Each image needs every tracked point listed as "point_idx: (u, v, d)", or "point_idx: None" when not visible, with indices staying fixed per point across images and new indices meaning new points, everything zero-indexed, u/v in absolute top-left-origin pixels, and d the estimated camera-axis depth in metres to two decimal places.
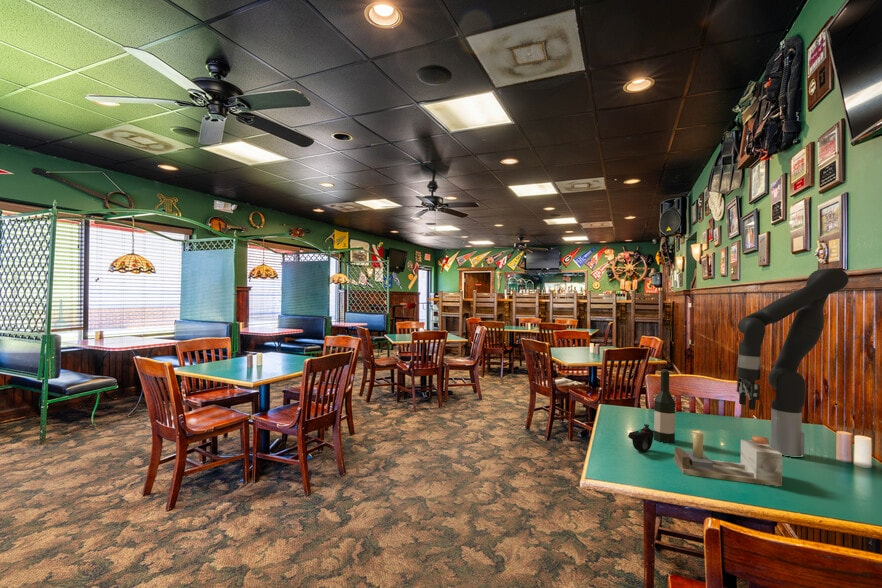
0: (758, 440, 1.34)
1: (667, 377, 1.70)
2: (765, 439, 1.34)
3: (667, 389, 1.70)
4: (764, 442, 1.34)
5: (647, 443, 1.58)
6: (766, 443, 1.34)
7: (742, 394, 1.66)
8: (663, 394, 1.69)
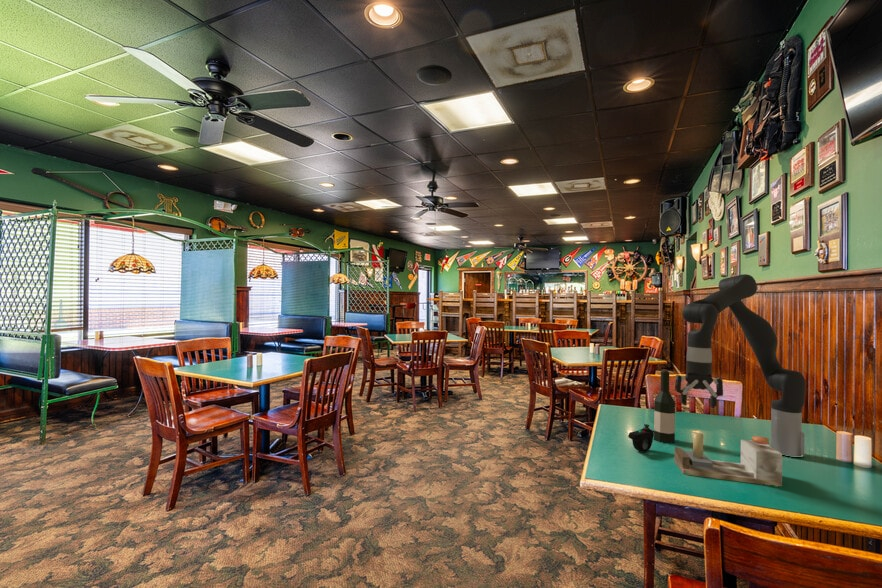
0: (758, 440, 1.34)
1: (667, 377, 1.70)
2: (765, 439, 1.34)
3: (667, 389, 1.70)
4: (764, 442, 1.34)
5: (647, 443, 1.58)
6: (766, 443, 1.34)
7: None
8: (663, 394, 1.69)
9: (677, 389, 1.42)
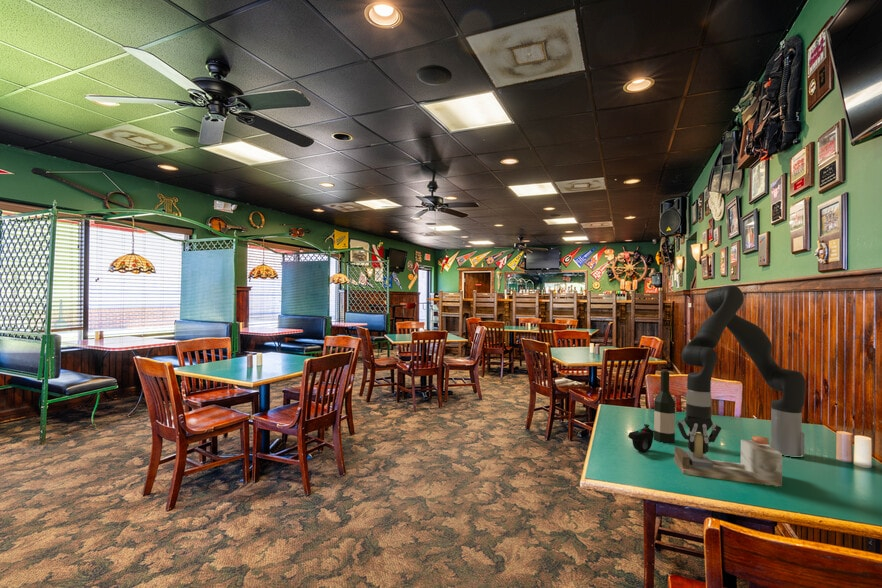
0: (758, 440, 1.34)
1: (667, 377, 1.70)
2: (765, 439, 1.34)
3: (667, 389, 1.70)
4: (764, 442, 1.34)
5: (647, 443, 1.58)
6: (766, 443, 1.34)
7: None
8: (663, 394, 1.69)
9: (684, 436, 1.41)
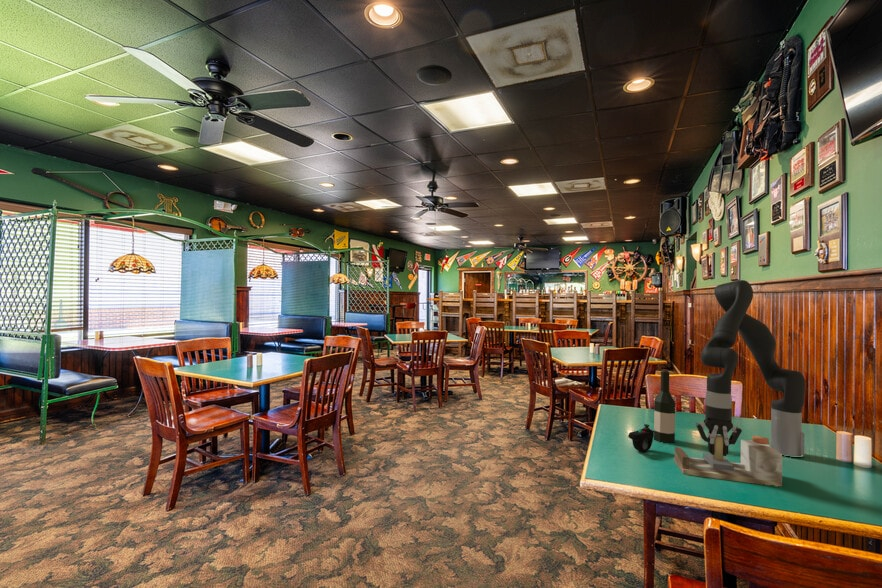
0: (758, 440, 1.34)
1: (667, 377, 1.70)
2: (765, 439, 1.34)
3: (667, 389, 1.70)
4: (764, 442, 1.34)
5: (647, 443, 1.58)
6: (766, 443, 1.34)
7: None
8: (663, 394, 1.69)
9: (704, 438, 1.40)
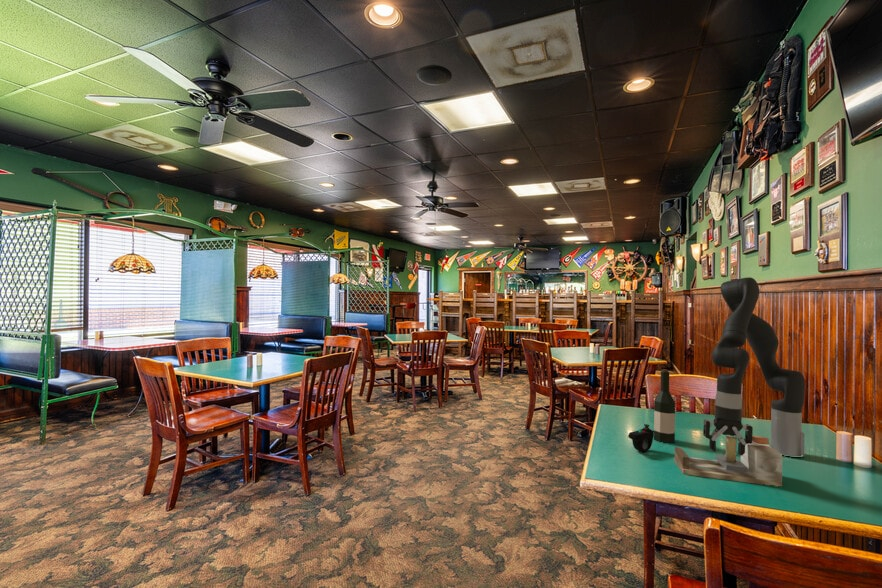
0: (758, 440, 1.34)
1: (667, 377, 1.70)
2: (765, 439, 1.34)
3: (667, 389, 1.70)
4: (764, 442, 1.34)
5: (647, 443, 1.58)
6: (766, 443, 1.34)
7: None
8: (663, 394, 1.69)
9: (706, 435, 1.39)
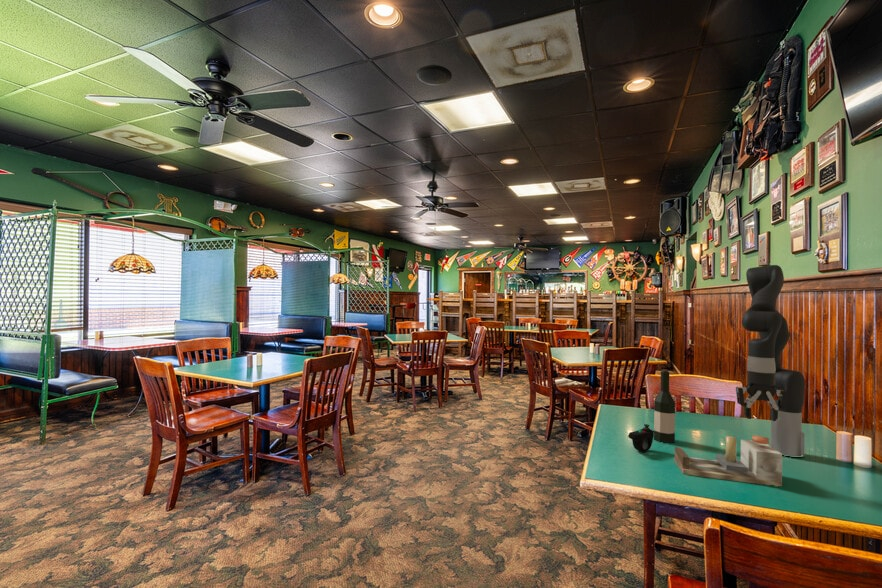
0: (758, 440, 1.34)
1: (667, 377, 1.70)
2: (765, 439, 1.34)
3: (667, 389, 1.69)
4: (764, 442, 1.34)
5: (647, 443, 1.58)
6: (766, 443, 1.34)
7: None
8: (663, 394, 1.69)
9: (741, 402, 1.37)
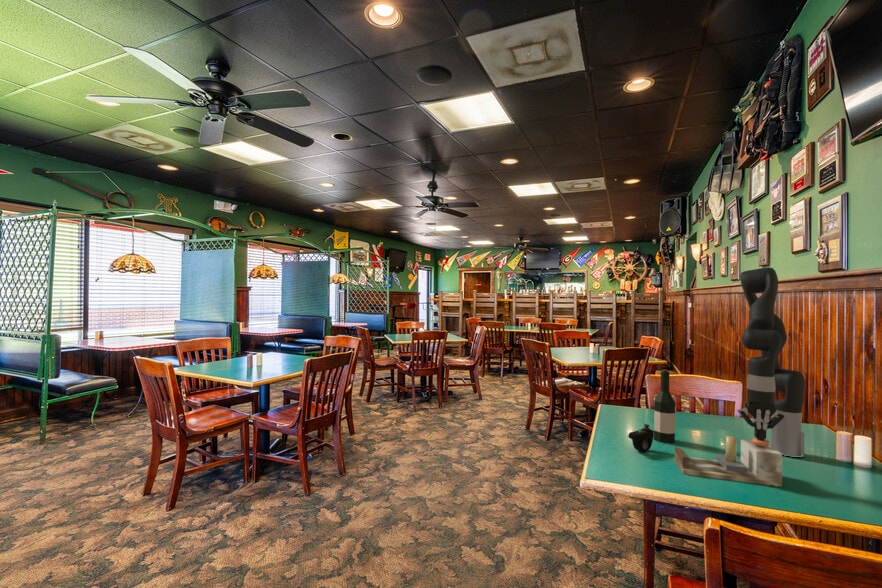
0: (758, 442, 1.34)
1: (667, 377, 1.70)
2: (765, 441, 1.34)
3: (667, 389, 1.70)
4: (764, 444, 1.34)
5: (647, 443, 1.58)
6: (766, 445, 1.34)
7: None
8: (663, 394, 1.69)
9: (751, 423, 1.36)
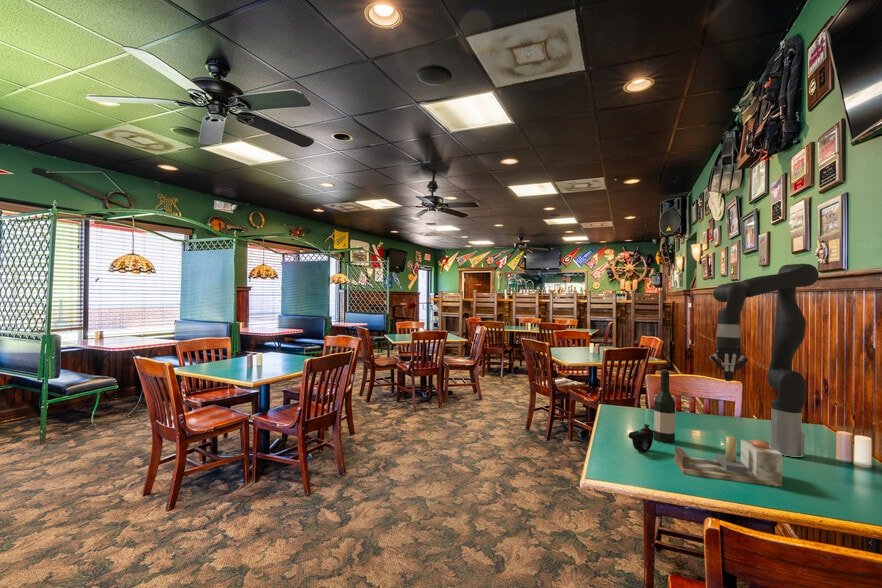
0: (758, 444, 1.34)
1: (667, 377, 1.70)
2: (765, 443, 1.34)
3: (667, 389, 1.70)
4: (764, 446, 1.34)
5: (647, 443, 1.58)
6: (766, 447, 1.33)
7: None
8: (663, 394, 1.69)
9: (720, 366, 1.54)
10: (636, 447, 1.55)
